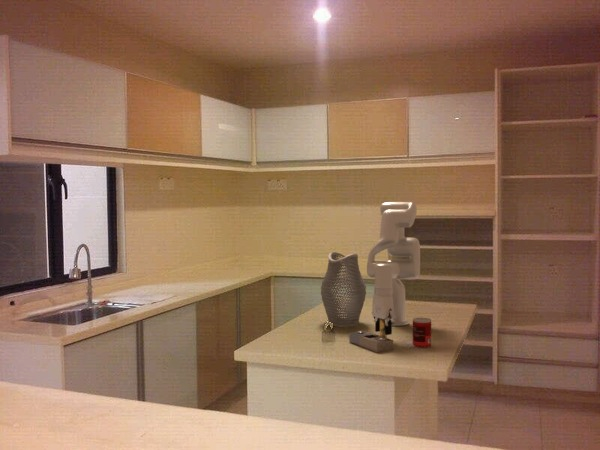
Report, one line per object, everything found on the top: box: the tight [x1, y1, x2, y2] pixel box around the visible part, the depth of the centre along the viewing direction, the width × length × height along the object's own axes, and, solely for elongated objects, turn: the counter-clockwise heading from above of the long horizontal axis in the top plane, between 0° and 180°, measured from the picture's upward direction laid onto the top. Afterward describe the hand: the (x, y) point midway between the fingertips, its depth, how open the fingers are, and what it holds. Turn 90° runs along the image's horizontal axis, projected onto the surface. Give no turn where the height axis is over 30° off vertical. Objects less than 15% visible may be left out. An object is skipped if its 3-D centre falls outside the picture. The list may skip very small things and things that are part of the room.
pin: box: [379, 319, 388, 338], centre depth 253 cm, size 3×3×10 cm
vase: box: [320, 251, 367, 328], centre depth 286 cm, size 22×22×35 cm
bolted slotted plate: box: [349, 330, 394, 353], centre depth 242 cm, size 20×8×5 cm, turn 28°
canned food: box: [412, 317, 432, 349], centre depth 242 cm, size 8×8×11 cm
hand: (383, 332), depth 253 cm, fingers open, 6 cm apart
